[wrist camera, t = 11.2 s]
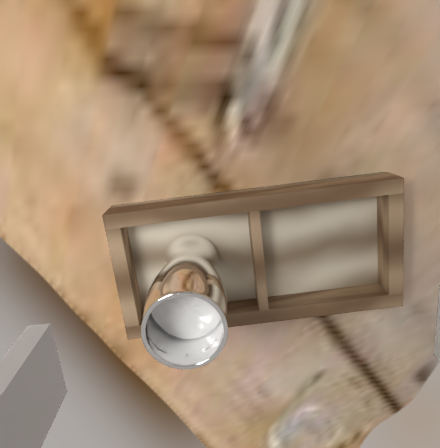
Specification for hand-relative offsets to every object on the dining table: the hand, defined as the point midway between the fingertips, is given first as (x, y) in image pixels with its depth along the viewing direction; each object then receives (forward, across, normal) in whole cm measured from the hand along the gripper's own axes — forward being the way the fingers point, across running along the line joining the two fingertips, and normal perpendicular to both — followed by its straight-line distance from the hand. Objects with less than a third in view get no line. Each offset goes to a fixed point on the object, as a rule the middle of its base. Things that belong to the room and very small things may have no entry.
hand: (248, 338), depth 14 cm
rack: (+31, +3, -9) cm, 32 cm away
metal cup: (+30, -4, -9) cm, 31 cm away
